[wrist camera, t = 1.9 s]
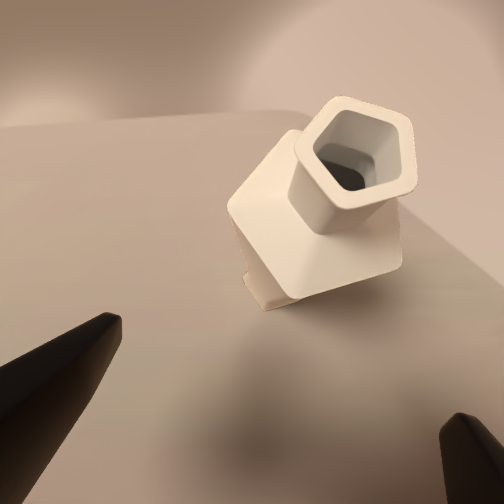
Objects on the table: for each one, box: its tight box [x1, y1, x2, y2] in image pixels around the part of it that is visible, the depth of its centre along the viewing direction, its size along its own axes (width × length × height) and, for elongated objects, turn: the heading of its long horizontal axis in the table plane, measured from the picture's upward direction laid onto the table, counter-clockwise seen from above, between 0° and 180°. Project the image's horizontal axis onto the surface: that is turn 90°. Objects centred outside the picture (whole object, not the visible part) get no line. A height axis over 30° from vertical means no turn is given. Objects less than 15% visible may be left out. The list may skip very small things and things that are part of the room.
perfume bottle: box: [227, 96, 418, 311], centre depth 13 cm, size 5×4×15 cm
